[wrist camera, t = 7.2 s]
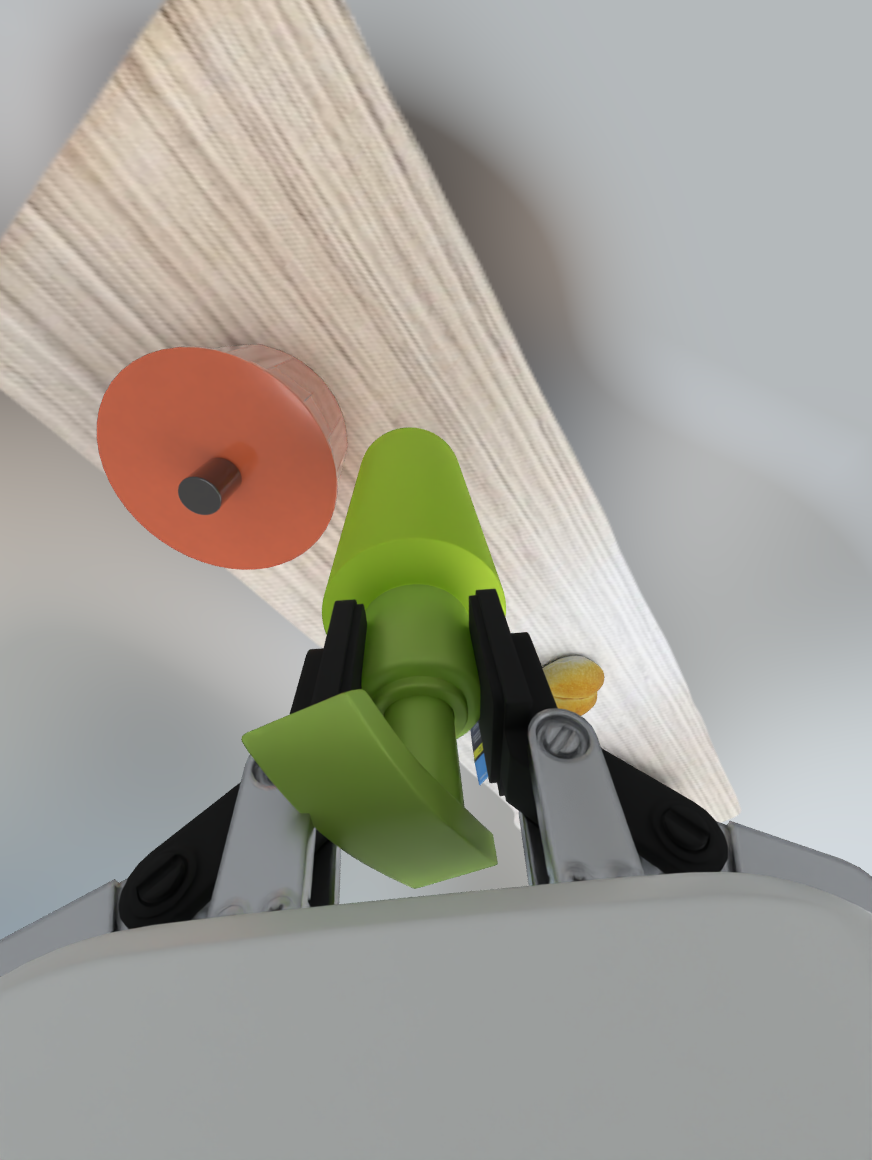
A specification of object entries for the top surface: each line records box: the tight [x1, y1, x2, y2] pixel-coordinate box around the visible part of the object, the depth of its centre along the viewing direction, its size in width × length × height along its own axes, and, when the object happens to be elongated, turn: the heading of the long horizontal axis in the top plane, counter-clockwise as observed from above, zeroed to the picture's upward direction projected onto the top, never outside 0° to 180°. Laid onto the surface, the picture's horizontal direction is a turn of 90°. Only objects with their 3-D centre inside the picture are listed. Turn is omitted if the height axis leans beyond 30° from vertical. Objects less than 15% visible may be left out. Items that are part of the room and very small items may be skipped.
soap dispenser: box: [242, 428, 506, 889], centre depth 15 cm, size 6×7×20 cm
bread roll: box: [543, 656, 604, 716], centre depth 50 cm, size 8×9×4 cm
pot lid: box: [97, 346, 338, 570], centre depth 24 cm, size 14×14×5 cm
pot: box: [213, 344, 348, 481], centre depth 29 cm, size 13×13×10 cm
